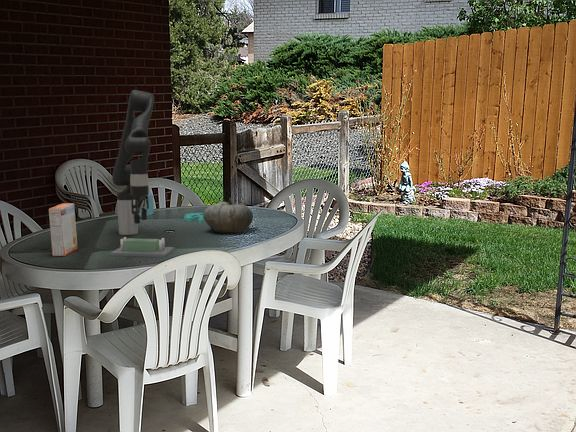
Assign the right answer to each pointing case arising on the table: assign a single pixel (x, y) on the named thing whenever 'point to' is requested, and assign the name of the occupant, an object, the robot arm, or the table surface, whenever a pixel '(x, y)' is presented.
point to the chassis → (161, 252)
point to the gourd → (228, 217)
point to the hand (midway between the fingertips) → (140, 221)
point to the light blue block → (150, 200)
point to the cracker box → (63, 229)
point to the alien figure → (194, 217)
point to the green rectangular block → (141, 245)
